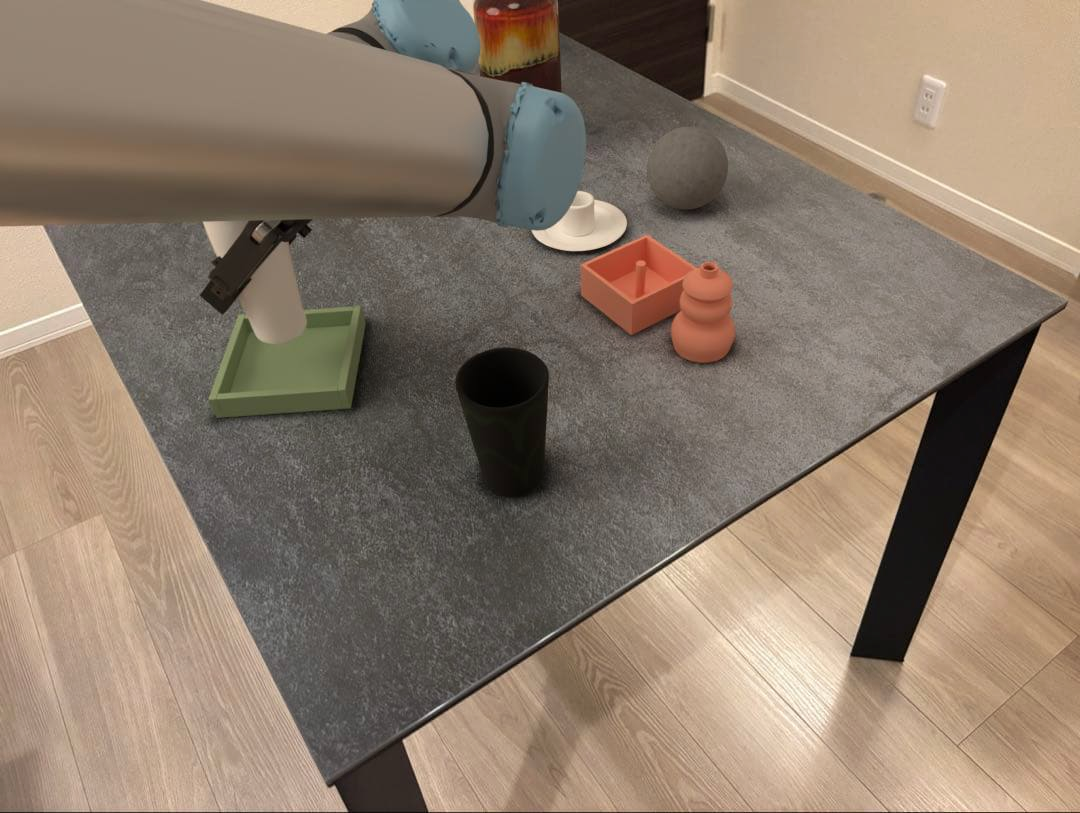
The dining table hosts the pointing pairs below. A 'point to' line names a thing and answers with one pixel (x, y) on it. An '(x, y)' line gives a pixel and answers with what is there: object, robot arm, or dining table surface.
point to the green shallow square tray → (291, 367)
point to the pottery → (663, 296)
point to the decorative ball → (687, 168)
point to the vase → (519, 41)
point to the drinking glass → (265, 288)
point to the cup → (506, 417)
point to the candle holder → (585, 225)
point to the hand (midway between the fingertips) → (236, 280)
